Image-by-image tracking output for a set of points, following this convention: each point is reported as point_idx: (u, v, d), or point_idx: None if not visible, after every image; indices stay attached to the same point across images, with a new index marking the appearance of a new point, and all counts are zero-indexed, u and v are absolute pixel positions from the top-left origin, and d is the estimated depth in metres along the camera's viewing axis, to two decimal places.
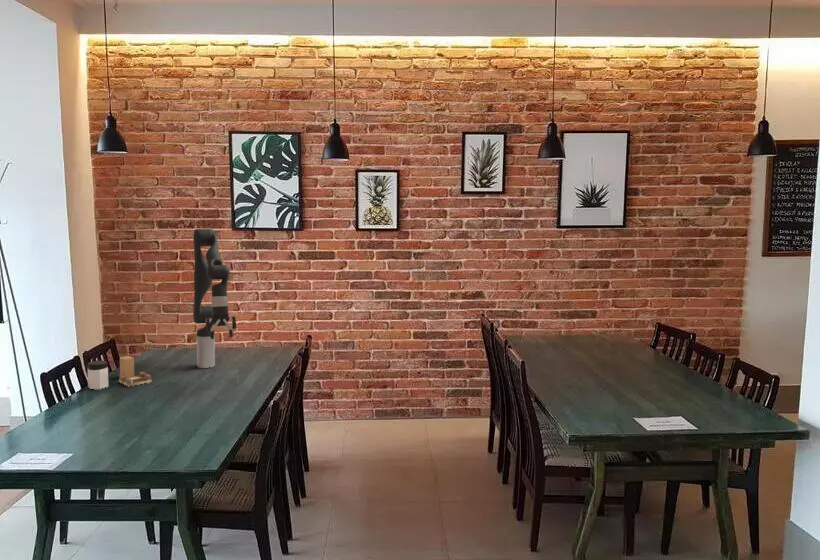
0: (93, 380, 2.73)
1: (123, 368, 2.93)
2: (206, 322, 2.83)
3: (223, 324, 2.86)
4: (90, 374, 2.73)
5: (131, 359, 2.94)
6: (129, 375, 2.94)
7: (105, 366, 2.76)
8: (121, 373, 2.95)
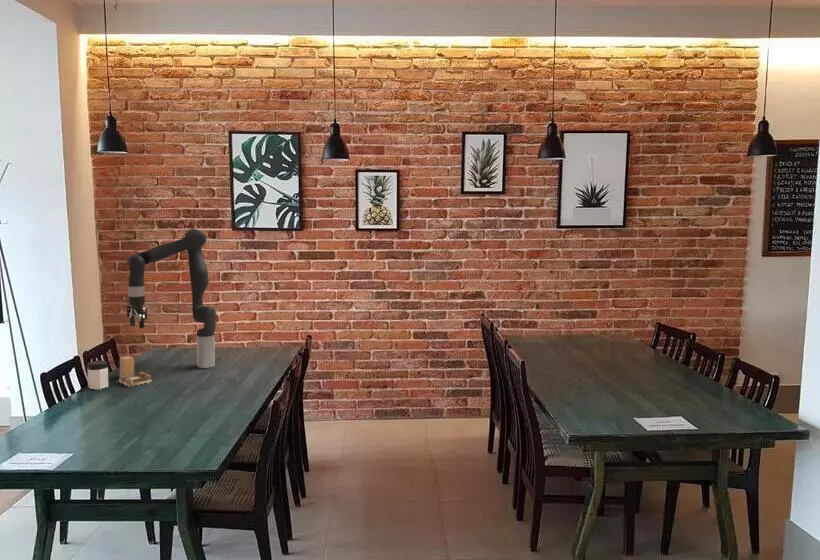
0: (93, 380, 2.73)
1: (123, 368, 2.93)
2: None
3: (135, 314, 2.91)
4: (90, 374, 2.73)
5: (131, 359, 2.94)
6: (129, 375, 2.94)
7: (105, 366, 2.76)
8: (121, 373, 2.95)
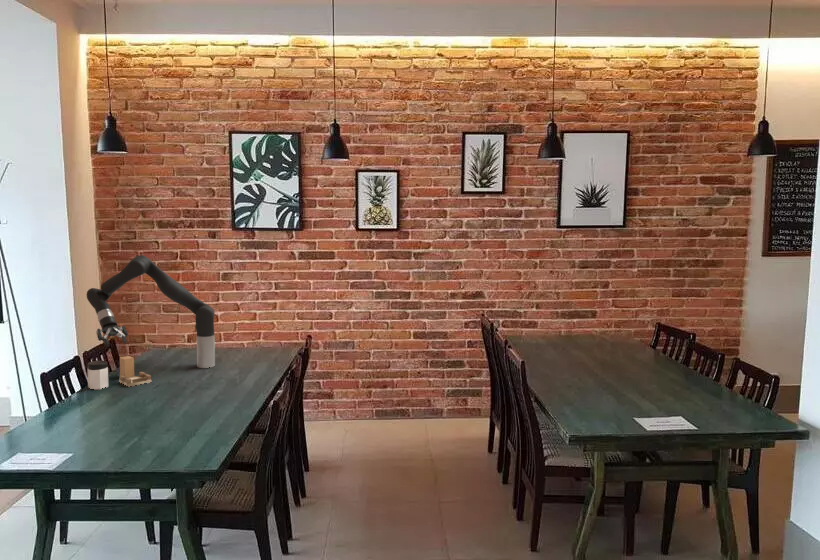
0: (93, 380, 2.73)
1: (123, 368, 2.93)
2: None
3: None
4: (90, 374, 2.73)
5: (131, 359, 2.94)
6: (129, 375, 2.94)
7: (105, 366, 2.76)
8: (121, 373, 2.95)
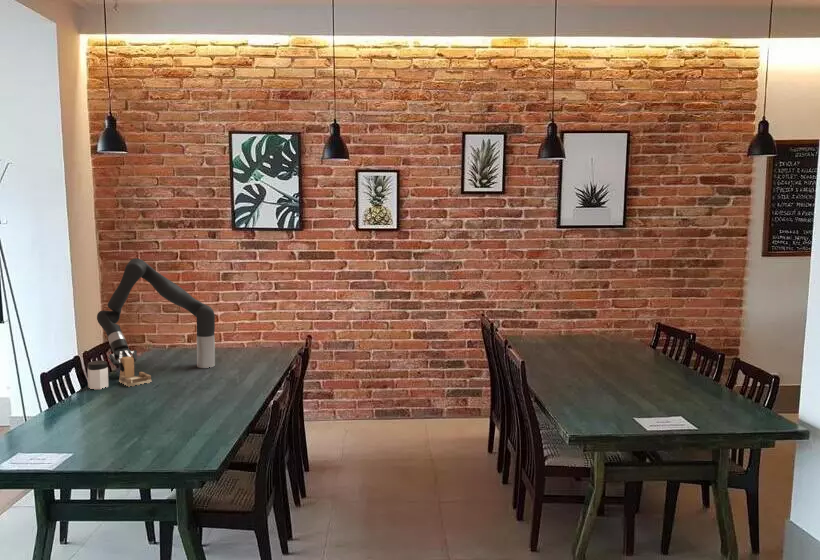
0: (93, 380, 2.73)
1: None
2: None
3: None
4: (90, 374, 2.73)
5: (131, 359, 2.94)
6: (129, 375, 2.94)
7: (105, 366, 2.76)
8: (121, 373, 2.95)
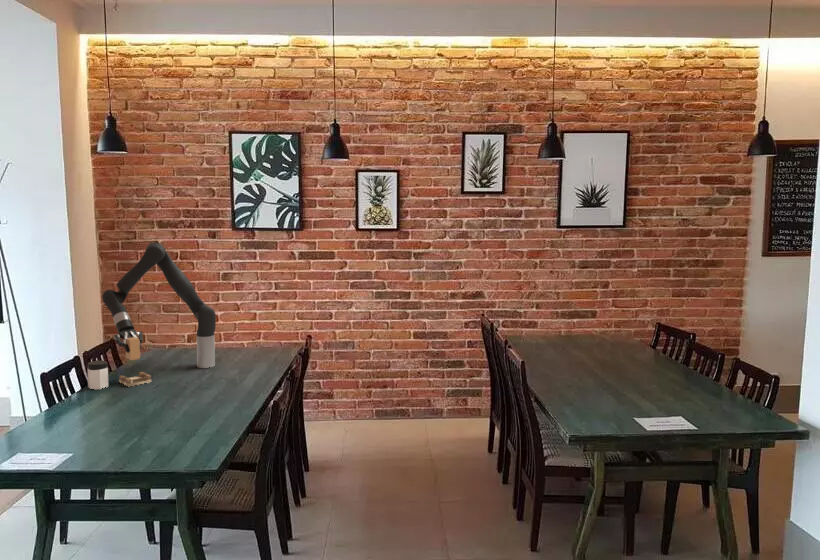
0: (93, 380, 2.73)
1: None
2: None
3: None
4: (90, 374, 2.73)
5: (137, 340, 2.85)
6: (135, 356, 2.85)
7: (105, 366, 2.76)
8: (126, 354, 2.86)
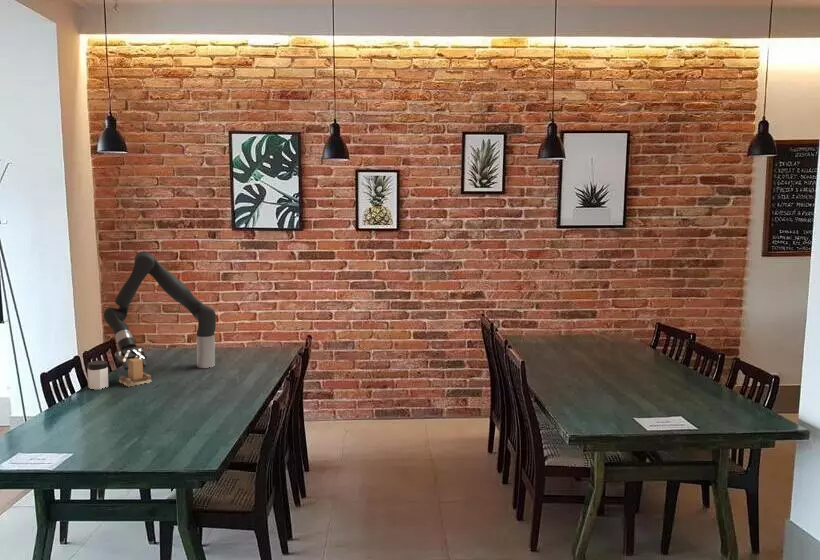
0: (93, 380, 2.73)
1: (131, 370, 2.83)
2: None
3: None
4: (90, 374, 2.73)
5: (140, 361, 2.84)
6: (138, 377, 2.84)
7: (105, 366, 2.76)
8: (129, 375, 2.85)
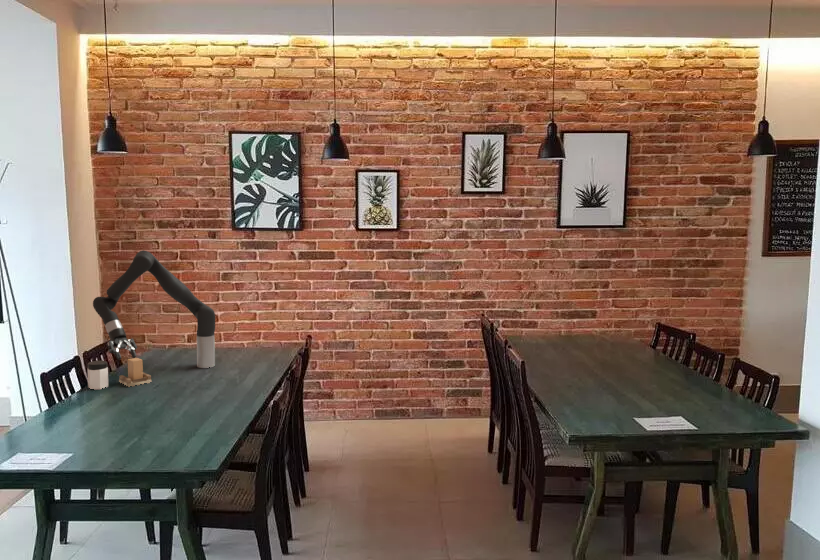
0: (93, 380, 2.73)
1: (131, 370, 2.83)
2: None
3: None
4: (90, 374, 2.73)
5: (140, 361, 2.84)
6: (138, 377, 2.84)
7: (105, 366, 2.76)
8: (129, 375, 2.85)
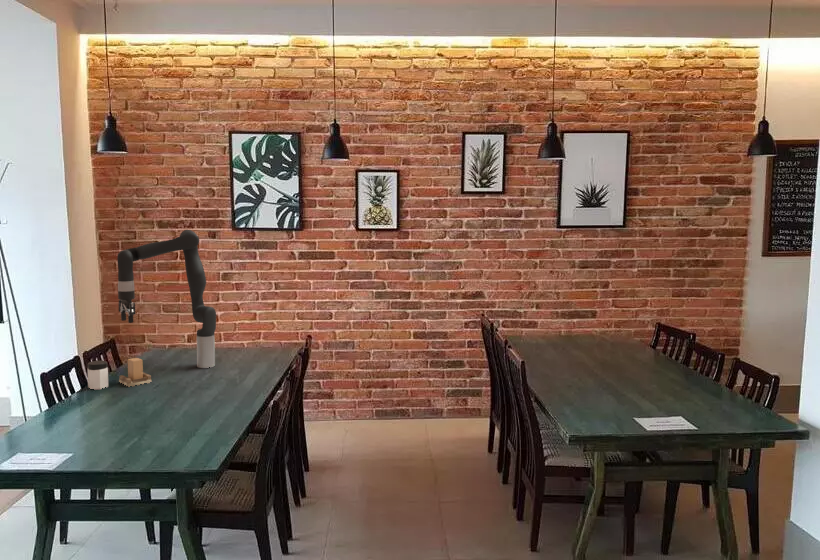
0: (93, 380, 2.73)
1: (131, 370, 2.83)
2: None
3: None
4: (90, 374, 2.73)
5: (140, 361, 2.84)
6: (138, 377, 2.84)
7: (105, 366, 2.76)
8: (129, 375, 2.85)
